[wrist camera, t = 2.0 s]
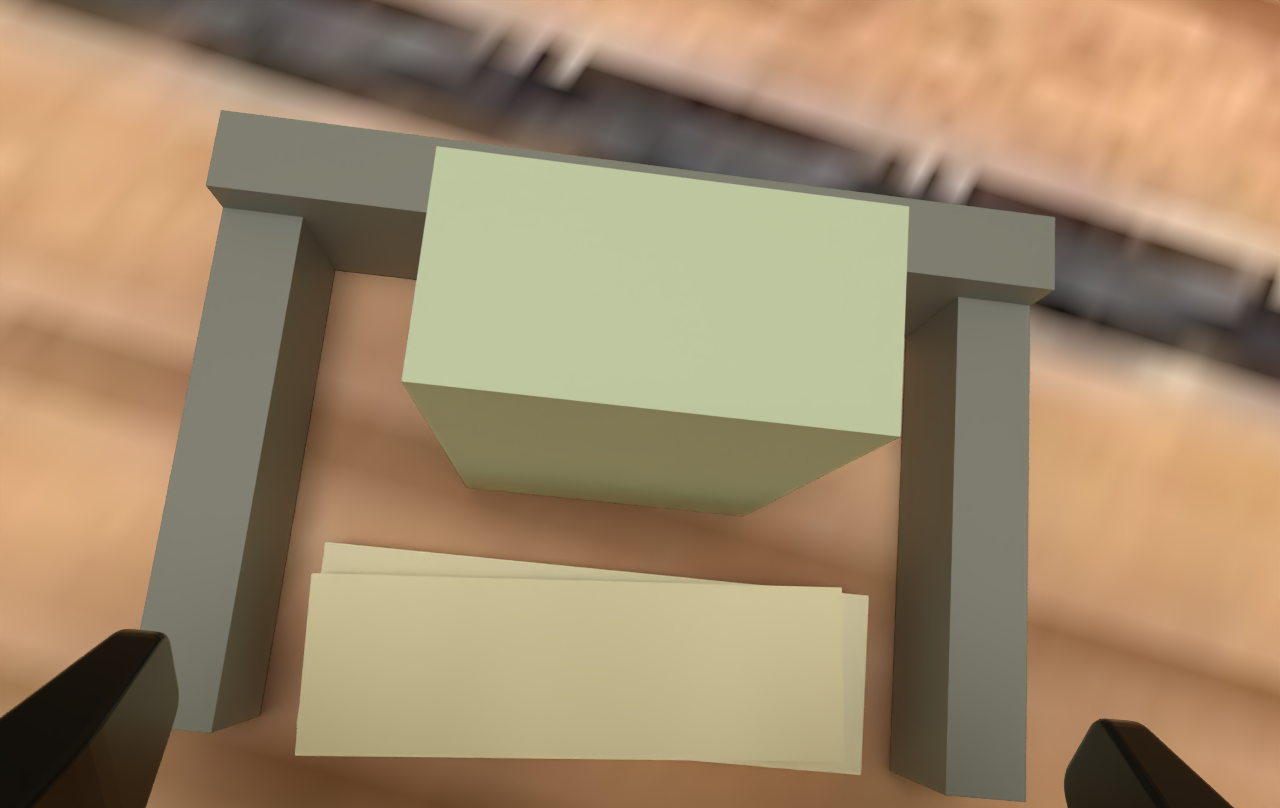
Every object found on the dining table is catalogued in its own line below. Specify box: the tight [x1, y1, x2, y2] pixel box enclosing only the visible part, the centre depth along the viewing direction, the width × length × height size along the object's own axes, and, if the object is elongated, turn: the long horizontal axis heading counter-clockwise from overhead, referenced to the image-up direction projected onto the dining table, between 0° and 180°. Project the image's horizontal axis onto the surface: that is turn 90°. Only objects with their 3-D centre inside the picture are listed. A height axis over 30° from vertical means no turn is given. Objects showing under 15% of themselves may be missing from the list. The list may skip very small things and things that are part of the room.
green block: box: [402, 146, 909, 516], centre depth 17 cm, size 3×6×10 cm, turn 85°
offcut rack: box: [140, 110, 1055, 802], centre depth 20 cm, size 11×16×4 cm
